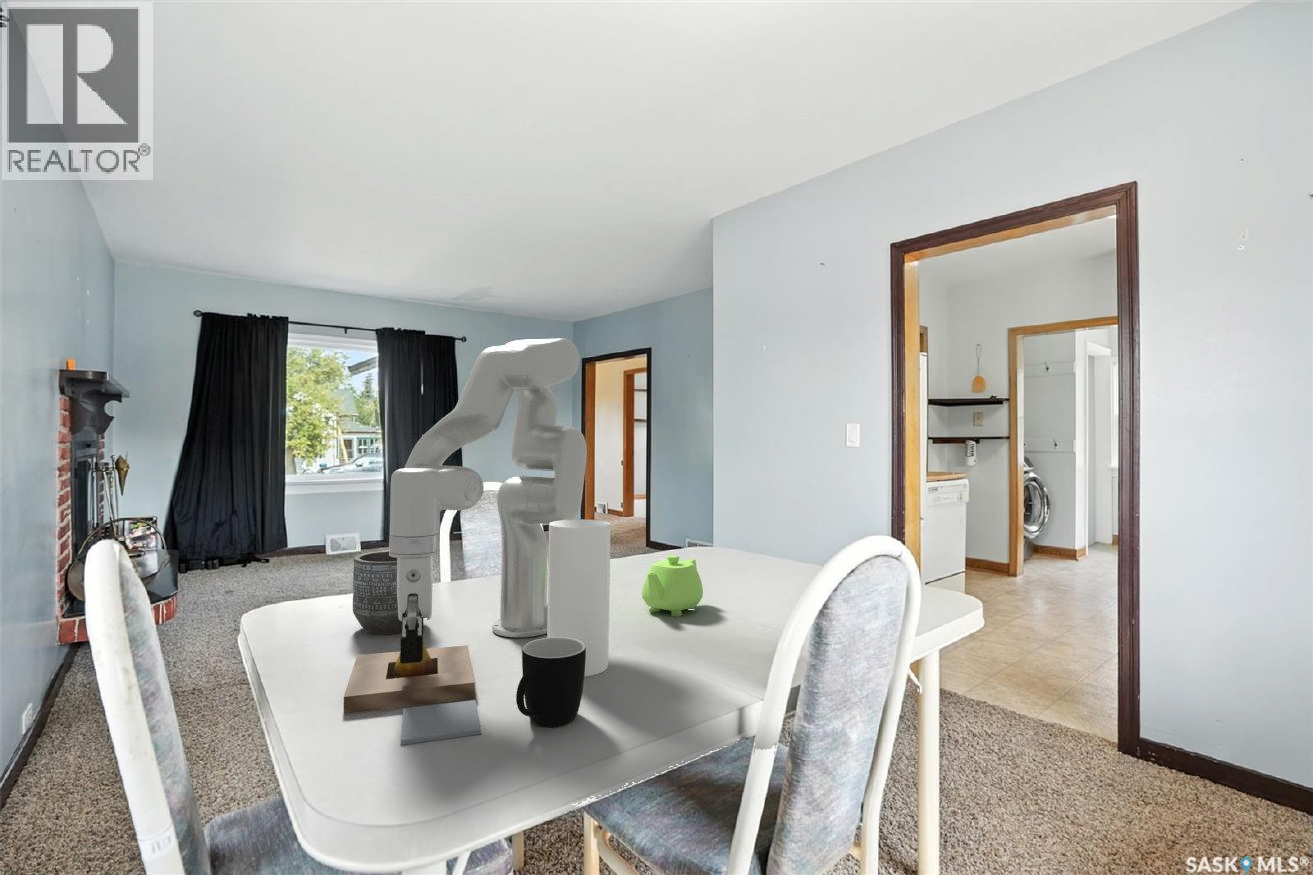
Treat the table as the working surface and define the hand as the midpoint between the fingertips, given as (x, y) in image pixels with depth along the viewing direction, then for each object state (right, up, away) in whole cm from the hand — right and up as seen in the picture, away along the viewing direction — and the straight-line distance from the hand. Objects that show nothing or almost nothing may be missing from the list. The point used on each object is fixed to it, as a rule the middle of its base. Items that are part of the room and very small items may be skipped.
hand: (412, 652), depth 102 cm
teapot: (+43, -6, +47) cm, 64 cm away
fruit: (0, -5, 0) cm, 5 cm away
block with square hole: (0, -5, 0) cm, 5 cm away
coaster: (+9, -5, -13) cm, 17 cm away
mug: (+24, -6, -12) cm, 27 cm away
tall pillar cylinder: (+25, -6, +9) cm, 28 cm away
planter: (-16, -5, +30) cm, 34 cm away
